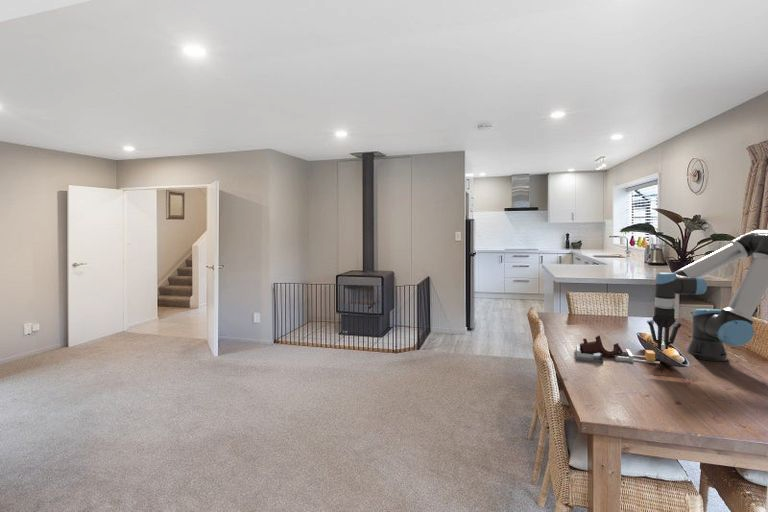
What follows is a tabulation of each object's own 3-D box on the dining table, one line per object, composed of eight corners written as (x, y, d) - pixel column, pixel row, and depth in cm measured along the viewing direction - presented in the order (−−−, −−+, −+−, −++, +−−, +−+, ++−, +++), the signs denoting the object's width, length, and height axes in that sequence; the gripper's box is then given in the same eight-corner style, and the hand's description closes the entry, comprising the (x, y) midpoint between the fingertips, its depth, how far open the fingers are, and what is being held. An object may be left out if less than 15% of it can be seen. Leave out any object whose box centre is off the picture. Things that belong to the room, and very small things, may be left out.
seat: (654, 359, 192) (654, 350, 192) (661, 368, 181) (661, 359, 180) (574, 352, 205) (574, 343, 205) (576, 360, 193) (576, 351, 193)
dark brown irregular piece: (624, 353, 189) (618, 332, 192) (586, 359, 193) (579, 338, 196) (621, 354, 195) (614, 333, 198) (583, 360, 198) (577, 339, 202)
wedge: (652, 358, 189) (652, 350, 189) (655, 362, 185) (655, 353, 184) (644, 358, 190) (645, 349, 190) (647, 361, 186) (647, 353, 186)
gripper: (679, 306, 185) (676, 357, 187) (645, 304, 190) (643, 354, 191) (684, 309, 178) (681, 362, 180) (649, 307, 183) (647, 359, 185)
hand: (662, 358), depth 186 cm, fingers closed
